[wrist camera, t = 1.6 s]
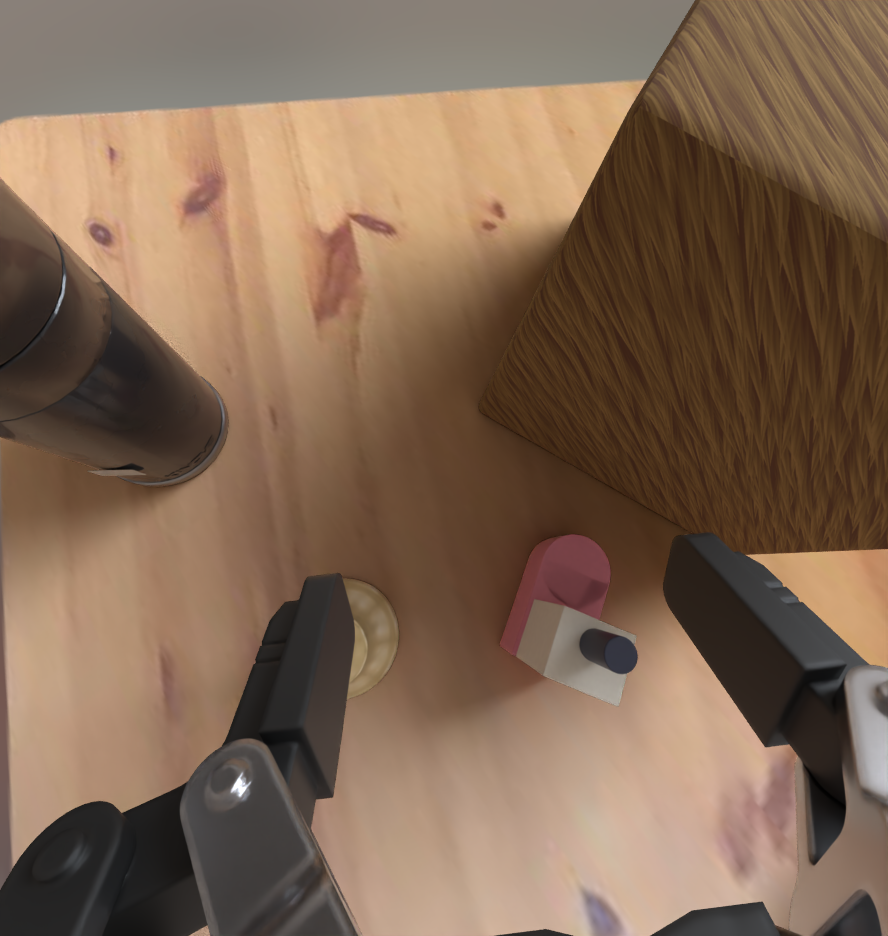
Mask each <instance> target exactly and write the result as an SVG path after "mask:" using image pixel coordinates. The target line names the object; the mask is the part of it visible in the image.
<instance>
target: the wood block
mask: <svg viewBox="0 0 888 936" xmlns="http://www.w3.org/2000/svg"><path fill="white" fill-rule="evenodd" d="M479 410H480V411H481V412H482V413H483V414H484V415H486V416H488V417H490V418H491V419H493V420H495V421H497V422H498V423H500V424H502V425H504V426H505V427H507V428H509V429H511V430H512V431H514V432H516V433H518V434H519V435H521V436H523V437H525V438H526V439H528V440H530V441H532V442H533V443H535V444H537V445H539V446H540V447H542V448H544V449H546V450H547V451H549V452H551V453H553V454H554V455H556V456H558V457H560V458H561V459H563V460H565V461H567V462H568V463H570V464H572V465H574V466H575V467H577V468H579V469H581V470H582V471H584V472H586V473H588V474H589V475H591V476H593V477H595V478H596V479H598V480H600V481H602V482H603V483H605V484H607V485H609V486H610V487H612V488H614V489H616V490H617V491H619V492H621V493H623V494H624V495H626V496H628V497H630V498H631V499H633V500H635V501H637V502H638V503H640V504H642V505H644V506H645V507H647V508H649V509H651V510H652V511H654V512H656V513H658V514H659V515H661V516H663V517H665V518H666V519H668V520H670V521H672V522H673V523H675V524H677V525H679V526H680V527H682V528H684V529H686V530H687V531H689V532H691V533H693V534H697V533H706V532H711V533H713V534H715V535H716V536H717V537H719V538H720V539H721V540H722V541H723V542H724V543H725V544H726V545H727V546H728V547H729V548H730V549H731V550H732V551H733V552H737V551H739V552H741V553H743V554H744V555H750V554H775V553H800V552H824V551H849V550H874V549H888V0H695V1H694V3H693V5H692V7H691V8H690V10H689V11H688V13H687V15H686V16H685V18H684V20H683V21H682V23H681V25H680V26H679V28H678V30H677V31H676V33H675V35H674V36H673V38H672V40H671V41H670V43H669V45H668V46H667V48H666V50H665V51H664V53H663V55H662V56H661V58H660V60H659V61H658V63H657V65H656V66H655V68H654V70H653V71H652V73H651V75H650V76H649V78H648V79H647V81H646V83H645V84H644V86H643V88H642V89H641V91H640V93H639V94H638V96H637V98H636V99H635V101H634V103H633V104H632V106H631V108H630V109H629V111H628V113H627V115H626V117H625V119H624V121H623V123H622V125H621V126H620V128H619V130H618V132H617V134H616V136H615V138H614V140H613V142H612V144H611V146H610V148H609V150H608V152H607V154H606V156H605V158H604V160H603V162H602V164H601V166H600V168H599V170H598V172H597V173H596V175H595V177H594V179H593V181H592V183H591V185H590V187H589V189H588V191H587V193H586V195H585V197H584V199H583V201H582V203H581V205H580V207H579V209H578V211H577V213H576V215H575V217H574V219H573V220H572V222H571V224H570V226H569V228H568V230H567V232H566V234H565V236H564V238H563V240H562V242H561V244H560V246H559V248H558V250H557V252H556V254H555V256H554V258H553V260H552V262H551V264H550V265H549V267H548V269H547V271H546V273H545V275H544V277H543V279H542V281H541V283H540V285H539V287H538V289H537V291H536V293H535V295H534V297H533V299H532V301H531V303H530V305H529V307H528V309H527V311H526V312H525V314H524V316H523V318H522V320H521V322H520V324H519V326H518V328H517V330H516V332H515V334H514V336H513V338H512V340H511V342H510V344H509V346H508V348H507V350H506V352H505V354H504V356H503V358H502V359H501V361H500V363H499V365H498V367H497V369H496V371H495V373H494V375H493V377H492V379H491V381H490V383H489V385H488V387H487V389H486V391H485V393H484V395H483V397H482V399H481V401H480V403H479Z"/></svg>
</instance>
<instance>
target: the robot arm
mask: <svg viewBox="0 0 888 936" xmlns="http://www.w3.org/2000/svg"><path fill="white" fill-rule="evenodd" d="M227 433H228V413H227V409H226V406H225V404H224V401H223V399H222V398H221V396H220V395H219V393H218V392H217V391H216V390H215V389H214V388H213V387H212V386H211V385H210V384H209V383H208V382H207V381H206V380H205V379H204V378H202V377H201V376H199V375H198V374H197V373H196V372H195V371H194V370H193V369H192V367H191V366H190V365H189V364H188V363H187V362H186V361H185V360H184V359H183V358H182V357H181V356H180V355H179V354H177V353H176V352H175V351H174V350H173V349H172V348H171V347H170V346H169V345H168V344H167V343H166V342H165V341H164V340H163V339H162V338H161V337H160V336H159V335H158V334H157V333H156V332H155V331H154V330H153V329H152V328H151V327H150V326H149V325H148V324H147V323H146V322H145V321H144V320H143V319H142V318H141V317H140V316H139V315H138V314H137V313H136V312H135V311H134V310H133V309H132V308H131V307H130V306H129V305H128V304H127V303H126V302H125V301H124V300H123V299H122V298H121V297H120V296H119V295H118V294H117V293H116V292H115V291H114V290H113V289H112V288H111V287H110V286H109V285H108V284H107V283H106V282H105V281H104V280H103V279H102V278H101V277H100V276H99V275H98V274H97V273H96V272H95V271H94V270H93V269H92V268H91V267H89V266H88V265H87V264H86V263H85V262H84V261H83V260H82V259H81V258H80V257H79V256H78V255H77V254H76V253H75V252H74V251H73V250H72V249H71V248H70V247H69V246H68V245H67V244H66V243H65V242H64V241H63V240H62V239H61V238H60V237H59V236H58V235H57V234H56V233H55V232H54V231H53V230H52V229H51V228H50V227H49V226H48V225H47V224H46V223H45V222H44V221H43V220H42V219H41V218H40V217H39V216H38V215H37V214H36V213H35V212H34V211H33V210H32V209H31V208H30V207H29V206H28V205H27V204H26V203H25V202H24V201H23V200H22V199H21V198H20V197H19V196H17V195H16V193H15V192H14V191H13V190H12V189H11V188H10V187H9V186H8V185H7V184H6V183H5V182H4V181H3V180H2V179H1V177H0V437H2V438H5V439H8V440H11V441H14V442H17V443H20V444H23V445H26V446H29V447H32V448H35V449H38V450H41V451H44V452H47V453H50V454H53V455H56V456H59V457H62V458H65V459H68V460H71V461H74V462H77V463H80V464H83V465H86V466H89V467H92V468H95V469H98V471H88V472H91V473H94V474H97V475H101V476H117V477H119V478H121V479H123V480H126V481H129V482H132V483H135V484H138V485H143V486H150V487H162V486H170V485H175V484H178V483H181V482H184V481H186V480H189V479H191V478H193V477H194V476H196V475H198V474H199V473H201V472H202V471H203V470H205V469H206V468H207V467H208V466H209V465H210V464H211V463H212V462H213V461H214V460H215V459H216V457H217V456H218V454H219V453H220V451H221V449H222V448H223V445H224V443H225V440H226V437H227ZM663 591H664V596H665V599H666V602H667V604H668V606H669V608H670V610H671V611H672V613H673V614H674V616H675V617H676V619H677V620H678V622H679V623H680V624H681V626H682V627H683V629H684V630H685V632H686V633H687V635H688V636H689V638H690V639H691V640H692V642H693V643H694V645H695V646H696V648H697V649H698V651H699V652H700V653H701V655H702V656H703V658H704V659H705V661H706V662H707V664H708V665H709V666H710V668H711V669H712V671H713V672H714V674H715V675H716V677H717V678H718V680H719V681H720V682H721V684H722V685H723V687H724V688H725V690H726V691H727V693H728V694H729V695H730V697H731V698H732V700H733V701H734V703H735V704H736V706H737V707H738V709H739V710H740V711H741V713H742V714H743V716H744V717H745V719H746V720H747V722H748V723H749V724H750V726H751V727H752V729H753V730H754V732H755V733H756V735H757V736H758V738H759V739H760V740H761V742H762V743H763V745H764V746H765V747H771V746H779V745H788V744H790V746H791V747H792V748H793V750H794V751H795V752H796V754H797V755H798V757H797V759H796V762H795V796H796V824H797V852H798V873H797V881H796V886H795V889H794V892H793V896H792V901H791V907H790V917H789V930H786V929H784V928H781V927H778V926H775V925H774V923H773V921H772V919H771V917H770V915H769V913H768V911H767V909H766V908H765V906H764V904H763V902H756V903H748V904H740V905H732V906H724V907H716V908H708V909H701V910H693V911H691V912H689V913H687V914H686V915H684V916H682V917H681V918H679V919H677V920H676V921H674V922H672V923H671V924H669V925H667V926H666V927H664V928H662V929H661V930H659V931H657V932H656V933H654V934H652V935H651V936H888V668H886V667H881V666H876V665H869V664H868V663H867V662H866V661H865V660H864V659H863V658H861V657H860V656H859V655H858V654H857V653H856V652H855V651H854V650H853V649H852V648H851V647H850V646H849V645H848V644H847V643H845V642H844V641H843V640H842V639H841V638H840V637H839V636H838V635H837V634H836V633H835V632H834V631H833V630H832V629H831V628H830V627H828V626H827V625H826V624H825V623H824V622H823V621H822V620H821V619H820V618H819V617H818V616H817V615H816V614H815V613H814V612H813V611H811V610H810V609H809V608H808V607H807V606H806V605H805V604H804V603H803V602H799V600H798V597H797V596H795V595H794V594H793V593H792V592H791V591H790V590H789V589H788V588H787V587H783V585H782V582H781V581H780V580H778V579H777V578H776V577H775V576H774V575H773V574H772V573H771V572H770V571H769V570H768V569H767V568H766V567H765V566H764V565H762V564H760V563H758V562H757V561H755V560H753V559H751V558H750V557H748V556H746V555H744V554H743V553H741V552H739V551H737V552H733V551H732V550H731V549H730V548H729V547H728V546H727V545H726V544H725V543H724V542H723V541H722V540H721V539H720V538H719V537H717V536H716V535H715V534H713V533H711V532H706V533H697V534H688V535H680V536H676V537H675V538H674V539H673V542H672V545H671V550H670V555H669V559H668V564H667V568H666V573H665V577H664V582H663ZM354 644H355V626H354V619H353V615H352V611H351V607H350V604H349V600H348V596H347V593H346V589H345V585H344V582H343V578H342V576H341V574H340V573H335V574H326V575H317V576H309V577H307V578H306V580H305V582H304V585H303V589H302V592H301V595H300V598H299V600H297V601H289V602H285V603H284V604H283V605H282V606H281V608H280V609H279V610H278V611H277V612H276V614H275V615H274V616H273V617H272V619H271V620H270V621H269V624H268V627H267V629H266V632H265V635H264V637H263V640H262V646H260V648H259V651H258V654H257V656H256V659H255V660H256V663H255V664H254V665H253V667H252V670H251V673H250V675H249V678H248V681H247V684H246V686H245V689H244V692H243V694H242V697H241V700H240V703H239V705H238V708H237V711H236V713H235V716H234V719H233V722H232V724H231V727H230V730H229V732H228V735H227V737H226V739H225V742H224V743H223V745H222V747H220V748H219V749H217V750H215V751H214V752H213V753H212V754H210V755H209V756H208V757H207V758H206V759H205V760H204V761H203V762H202V763H201V764H200V765H199V766H198V768H197V769H196V770H195V772H194V773H193V774H192V776H191V777H190V779H189V781H188V782H186V783H185V784H183V785H182V786H180V787H178V788H176V789H174V790H172V791H170V792H167V793H165V794H163V795H161V796H159V797H156V798H154V799H152V800H150V801H148V802H145V803H143V804H141V805H139V806H137V807H134V808H132V809H130V810H128V811H126V812H123V813H121V812H120V811H119V810H118V809H117V808H116V807H115V806H114V805H113V804H111V803H108V802H103V801H97V802H91V803H87V804H84V805H81V806H79V807H77V808H75V809H73V810H71V811H69V812H67V813H66V814H64V815H63V816H61V817H60V818H58V819H57V820H56V821H54V822H53V823H52V824H51V825H49V826H48V827H47V828H46V829H45V830H44V831H43V832H42V833H41V834H40V835H38V836H37V838H36V839H35V840H34V841H33V842H32V843H31V844H30V845H29V846H28V848H27V849H26V850H25V851H24V853H23V854H22V855H21V857H20V858H19V860H18V861H17V863H16V864H15V866H14V867H13V869H12V871H11V873H10V874H9V876H8V878H7V879H6V881H5V883H4V885H3V886H2V888H1V890H0V936H189V935H190V934H192V933H194V932H196V931H198V930H199V929H201V928H203V927H205V926H207V925H208V928H209V932H210V936H363V934H362V932H361V930H360V928H359V926H358V924H357V922H356V920H355V918H354V916H353V914H352V912H351V910H350V908H349V906H348V904H347V902H346V900H345V898H344V895H343V893H342V891H341V889H340V887H339V885H338V883H337V881H336V879H335V877H334V875H333V873H332V871H331V869H330V867H329V865H328V863H327V861H326V859H325V857H324V854H323V852H322V850H321V848H320V846H319V844H318V842H317V840H316V838H315V836H314V834H313V832H312V830H311V825H312V819H313V813H314V807H315V801H316V799H324V798H332V797H333V794H334V787H335V780H336V773H337V766H338V759H339V751H340V744H341V737H342V730H343V723H344V716H345V709H346V701H347V694H348V687H349V680H350V673H351V666H352V659H353V651H354ZM496 936H572V935H568V934H564V933H560V932H556V931H552V930H547V929H543V930H536V931H528V932H520V933H512V934H504V935H496Z"/></svg>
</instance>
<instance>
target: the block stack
mask: <svg viewBox="0 0 888 936" xmlns="http://www.w3.org/2000/svg"><path fill="white" fill-rule="evenodd" d="M610 578H611V570H610V564H609V561H608V558H607V556H606V554H605V553H604V551H603V550H602V548H601V547H600V546H599V545H598V544H597V543H596V542H594V541H593V540H591V539H590V538H588V537H585V536H582V535H577V534H570V535H564V536H559V537H554V538H549V539H546V540H544V541H542V542H540V543H539V544H538V545H537V546H536V547H535V548H534V549H533V550H532V552H531V554H530V556H529V559H528V562H527V565H526V568H525V571H524V574H523V577H522V580H521V583H520V586H519V589H518V591H517V594H516V597H515V600H514V603H513V606H512V609H511V612H510V615H509V618H508V621H507V624H506V627H505V630H504V633H503V636H502V639H501V642H500V646H501V647H502V648H503V649H505V650H506V651H508V652H509V653H510V654H512V655H514V656H516V657H518V658H519V659H520V660H522V661H523V662H525V663H526V664H527V665H529V666H530V667H531V668H533V669H534V670H536V671H537V672H538V673H540V674H541V675H542V676H544V677H547V678H549V679H551V680H554V681H556V682H559V683H561V684H564V685H566V686H568V687H571V688H573V689H576V690H578V691H580V692H583V693H585V694H588V695H590V696H593V697H595V698H597V699H600V700H602V701H605V702H607V703H609V704H612V705H614V706H617V707H618V706H619V703H620V699H621V695H622V691H623V688H624V684H625V680H626V676H627V673H629V672H630V671H632V670H633V669H634V667H635V666H636V663H637V658H638V655H637V650H636V648H635V646H634V645H635V641H636V637H637V636H636V635H634V634H631V633H629V632H627V631H624V630H622V629H619V628H617V627H615V626H612V625H610V624H608V623H605V622H603V621H600V620H599V619H600V616H601V612H602V608H603V605H604V601H605V598H606V594H607V591H608V587H609V584H610Z"/></svg>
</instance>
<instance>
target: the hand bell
mask: <svg viewBox="0 0 888 936" xmlns="http://www.w3.org/2000/svg"><path fill="white" fill-rule="evenodd" d="M343 582H344V585H345V589H346V593H347V596H348V600H349V604H350V607H351V611H352V615H353V619H354V626H355V644H354V651H353V659H352V666H351V673H350V680H349V687H348V694H347V699H349V698H353V697H356V696H359V695H361V694H363V693H365V692H367V691H368V690H370V689H371V688H373V687H374V686H375V685H376V684H377V683H379V682H380V680H381V679H382V678H383V677H384V676H385V675H386V673H387V672H388V670H389V669H390V667H391V665H392V663H393V661H394V659H395V656H396V653H397V649H398V642H399V628H398V622H397V618H396V615H395V612H394V610H393V608H392V606H391V604H390V603H389V601H388V600H387V598H386V597H385V596H384V595H383V594H382V593H381V592H380V591H379V590H378V589H376V588H375V587H373V586H371V585H370V584H368V583H365V582H363V581H360V580H355V579H345V578H343Z"/></svg>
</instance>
